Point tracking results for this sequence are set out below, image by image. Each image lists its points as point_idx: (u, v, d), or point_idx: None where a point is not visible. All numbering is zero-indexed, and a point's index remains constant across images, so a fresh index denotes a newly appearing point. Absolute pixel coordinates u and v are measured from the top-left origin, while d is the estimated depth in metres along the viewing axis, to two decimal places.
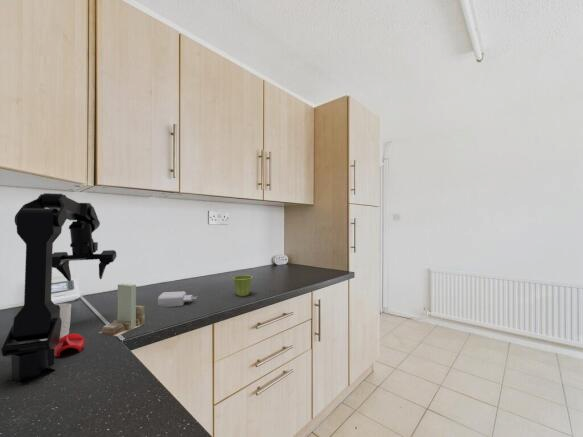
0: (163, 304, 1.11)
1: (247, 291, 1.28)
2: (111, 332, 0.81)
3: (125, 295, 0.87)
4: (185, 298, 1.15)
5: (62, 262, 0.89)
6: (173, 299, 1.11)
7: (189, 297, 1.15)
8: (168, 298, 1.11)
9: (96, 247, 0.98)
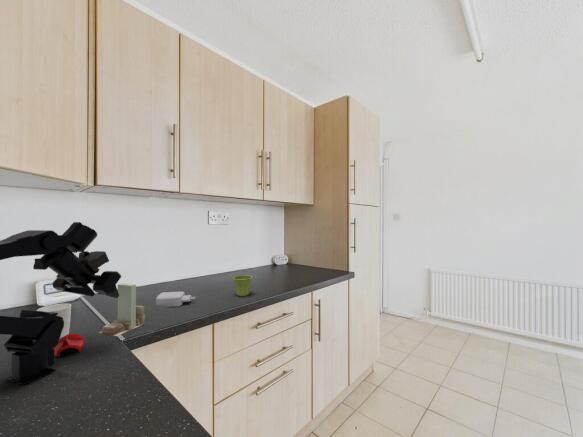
0: (162, 305, 1.10)
1: (247, 291, 1.28)
2: (111, 332, 0.81)
3: (125, 295, 0.87)
4: (183, 298, 1.14)
5: None
6: (172, 299, 1.11)
7: (188, 297, 1.15)
8: (166, 298, 1.11)
9: (103, 261, 0.77)
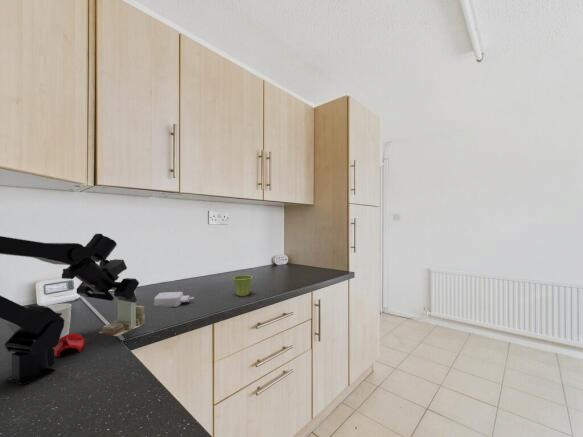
0: (160, 305, 1.10)
1: (247, 291, 1.28)
2: (111, 332, 0.81)
3: None
4: (182, 298, 1.14)
5: (92, 291, 0.82)
6: (170, 300, 1.11)
7: (186, 297, 1.15)
8: (165, 298, 1.10)
9: (121, 268, 0.84)
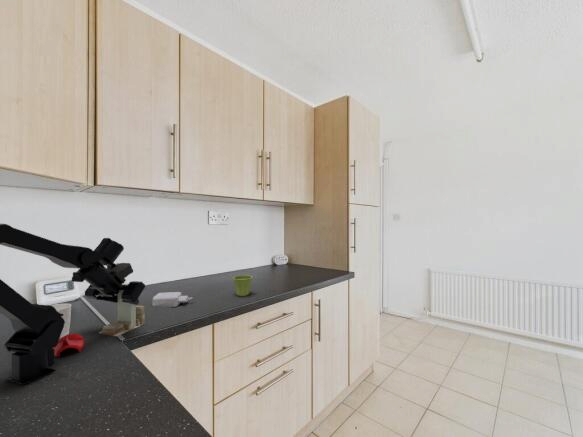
0: (158, 305, 1.10)
1: (247, 291, 1.28)
2: (111, 332, 0.81)
3: None
4: (180, 299, 1.14)
5: None
6: (168, 300, 1.10)
7: (184, 298, 1.14)
8: (163, 299, 1.10)
9: (128, 272, 0.86)
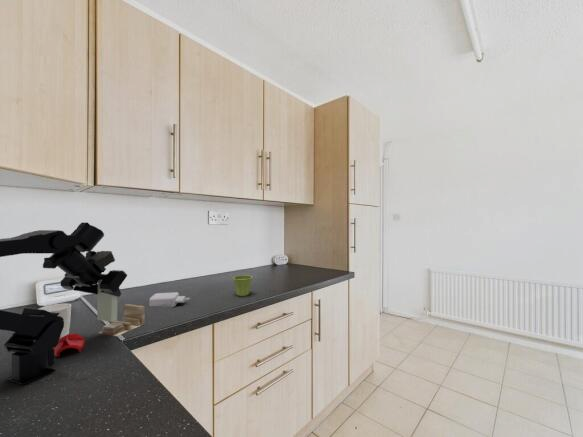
0: None
1: (247, 291, 1.28)
2: (111, 332, 0.81)
3: None
4: (177, 299, 1.13)
5: None
6: (165, 300, 1.10)
7: (181, 298, 1.14)
8: (160, 299, 1.10)
9: (109, 260, 0.79)
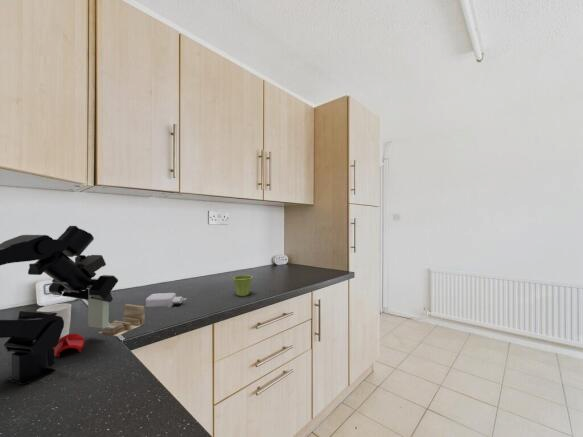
0: (151, 306, 1.08)
1: (247, 291, 1.28)
2: (111, 332, 0.81)
3: None
4: (174, 300, 1.12)
5: None
6: (161, 301, 1.09)
7: (178, 299, 1.13)
8: (156, 300, 1.09)
9: (99, 264, 0.76)
